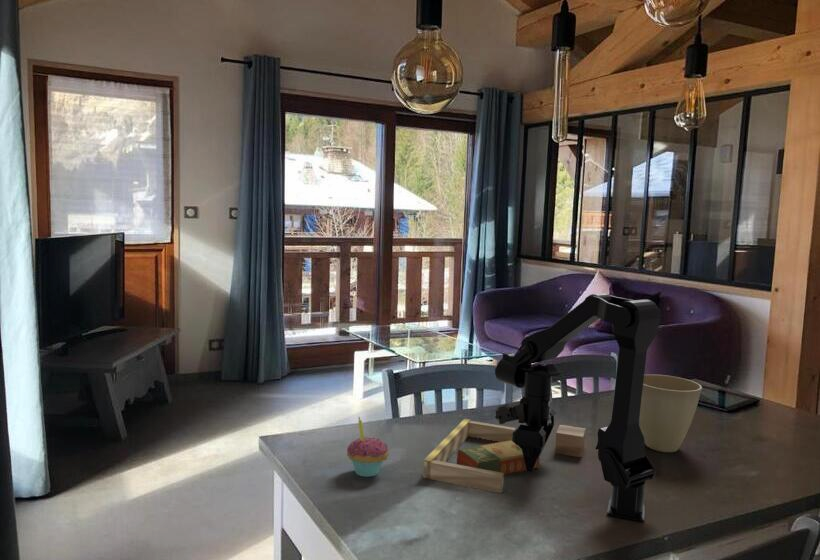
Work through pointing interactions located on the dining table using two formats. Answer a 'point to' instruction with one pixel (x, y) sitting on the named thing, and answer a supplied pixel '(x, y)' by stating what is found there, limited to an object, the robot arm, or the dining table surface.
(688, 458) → the dining table surface
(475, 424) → the dock bay
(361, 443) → the cupcake
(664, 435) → the plant pot
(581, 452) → the cardboard box
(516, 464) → the carton
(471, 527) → the dining table surface
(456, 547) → the dining table surface
